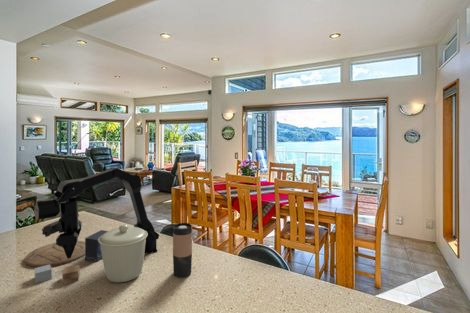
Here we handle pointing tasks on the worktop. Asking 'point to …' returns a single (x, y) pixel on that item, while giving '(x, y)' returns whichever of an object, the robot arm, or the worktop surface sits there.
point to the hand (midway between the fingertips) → (70, 253)
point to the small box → (93, 247)
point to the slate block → (43, 273)
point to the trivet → (54, 255)
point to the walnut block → (71, 274)
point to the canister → (123, 252)
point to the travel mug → (182, 249)
